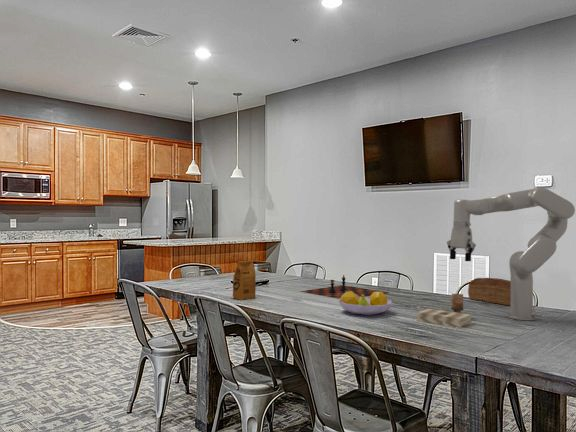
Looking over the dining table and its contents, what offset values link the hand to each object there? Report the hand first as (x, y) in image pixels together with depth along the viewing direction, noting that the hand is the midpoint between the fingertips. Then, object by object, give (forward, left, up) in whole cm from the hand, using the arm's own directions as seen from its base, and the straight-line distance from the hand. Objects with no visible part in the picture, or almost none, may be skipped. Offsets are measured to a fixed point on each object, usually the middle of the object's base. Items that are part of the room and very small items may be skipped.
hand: (460, 260), depth 228 cm
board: (-1, +20, -27) cm, 34 cm away
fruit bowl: (+37, +28, -27) cm, 54 cm away
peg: (-1, +6, -27) cm, 28 cm away
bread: (+2, -50, -27) cm, 57 cm away
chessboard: (+84, -17, -28) cm, 90 cm away
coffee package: (+111, +43, -27) cm, 122 cm away
